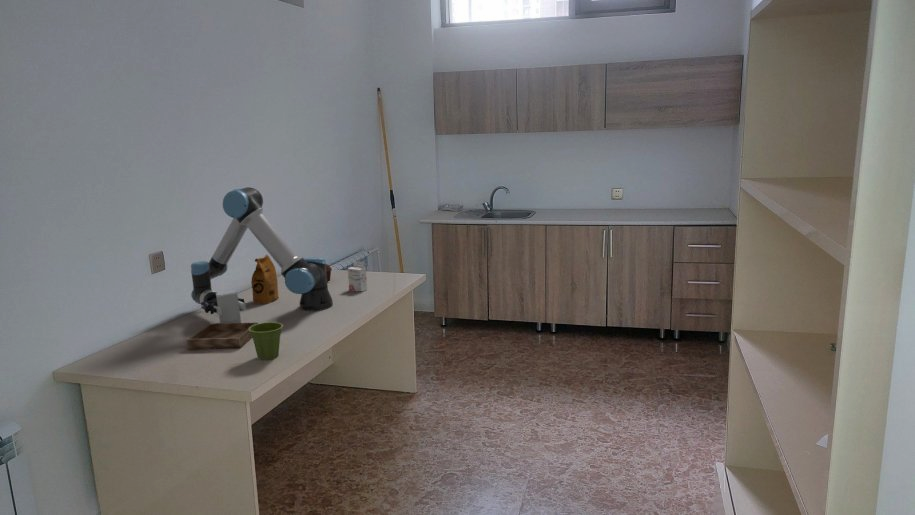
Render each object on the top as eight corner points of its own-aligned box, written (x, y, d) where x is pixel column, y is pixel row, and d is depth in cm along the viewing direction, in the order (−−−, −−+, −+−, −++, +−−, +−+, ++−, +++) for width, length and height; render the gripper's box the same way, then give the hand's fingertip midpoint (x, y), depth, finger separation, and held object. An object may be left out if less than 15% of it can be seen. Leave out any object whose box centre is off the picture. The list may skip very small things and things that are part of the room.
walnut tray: (258, 331, 248) (258, 322, 247) (240, 348, 228) (239, 338, 228) (210, 332, 249) (209, 323, 248) (188, 349, 229) (186, 339, 228)
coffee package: (249, 303, 292) (245, 259, 288) (264, 297, 304) (260, 254, 299) (268, 304, 289) (263, 259, 285) (282, 297, 301) (277, 254, 297)
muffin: (327, 284, 326) (325, 266, 324) (308, 284, 328) (306, 266, 326) (335, 279, 338) (334, 261, 336) (317, 278, 340) (315, 261, 338)
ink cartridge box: (348, 290, 312) (346, 262, 309) (355, 288, 316) (353, 260, 313) (361, 292, 307) (359, 263, 304) (367, 289, 311) (365, 261, 308)
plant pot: (267, 364, 211) (263, 333, 209) (244, 359, 217) (241, 329, 215) (292, 354, 221) (290, 324, 219) (270, 349, 227) (267, 320, 225)
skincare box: (240, 323, 261) (236, 289, 258) (241, 327, 255) (238, 292, 253) (219, 326, 257) (215, 292, 254) (220, 330, 252) (216, 295, 249)
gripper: (236, 302, 276) (258, 312, 260) (187, 313, 261) (207, 324, 245) (235, 286, 274) (257, 295, 258) (185, 296, 260) (205, 306, 243)
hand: (232, 309), depth 251 cm, fingers open, 9 cm apart
